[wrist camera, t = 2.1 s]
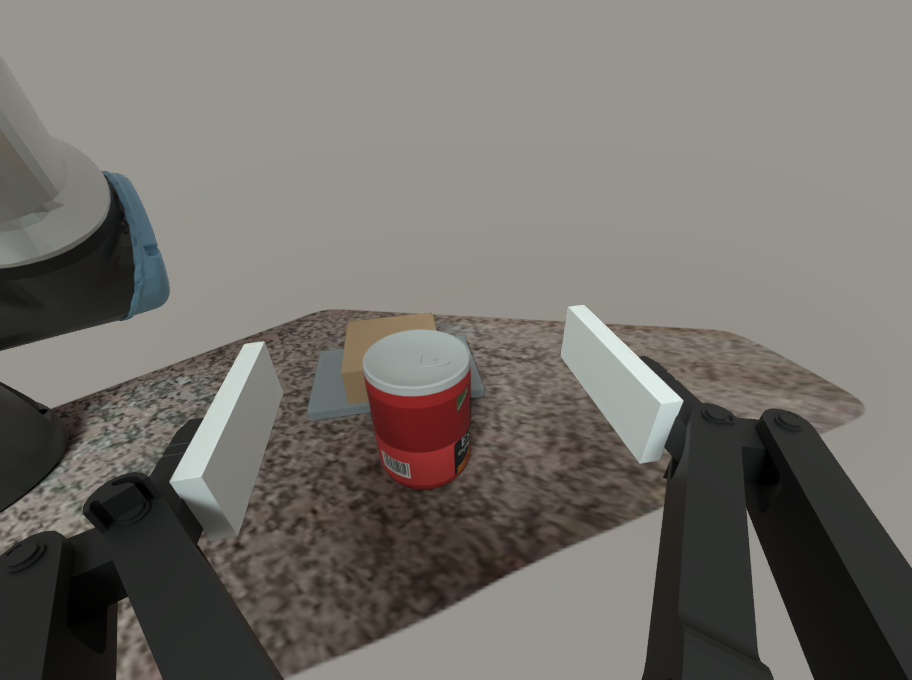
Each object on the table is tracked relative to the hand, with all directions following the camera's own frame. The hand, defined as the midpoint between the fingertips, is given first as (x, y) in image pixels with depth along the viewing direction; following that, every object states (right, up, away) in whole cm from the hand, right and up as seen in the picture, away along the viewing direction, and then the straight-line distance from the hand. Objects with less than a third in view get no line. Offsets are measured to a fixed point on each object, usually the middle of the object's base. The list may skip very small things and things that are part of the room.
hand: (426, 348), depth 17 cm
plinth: (-6, -4, +27) cm, 27 cm away
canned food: (-1, -10, +17) cm, 20 cm away
